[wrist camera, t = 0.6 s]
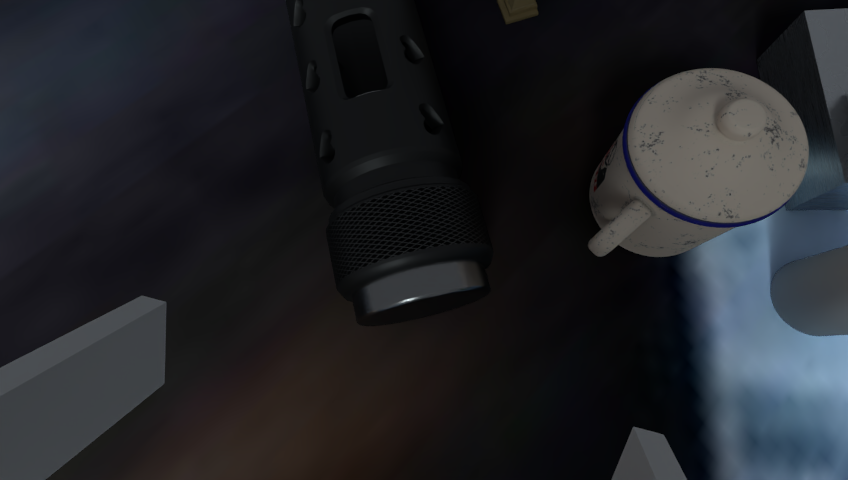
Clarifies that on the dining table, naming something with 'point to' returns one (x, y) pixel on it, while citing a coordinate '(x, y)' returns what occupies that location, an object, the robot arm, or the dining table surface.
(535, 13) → the eiffel tower
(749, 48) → the dining table surface
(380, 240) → the muzzle brake
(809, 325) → the post
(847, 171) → the block
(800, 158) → the teacup with lid
